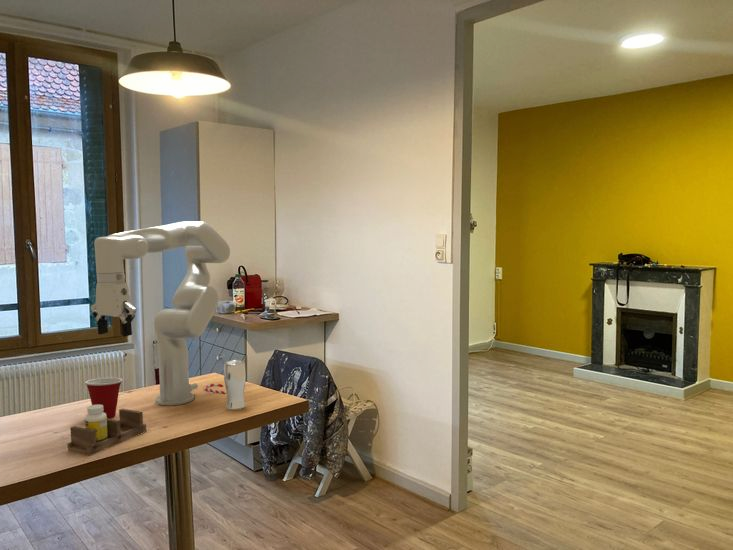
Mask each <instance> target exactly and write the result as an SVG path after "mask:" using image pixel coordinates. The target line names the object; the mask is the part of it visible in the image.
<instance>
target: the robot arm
mask: <svg viewBox="0 0 733 550" xmlns="http://www.w3.org/2000/svg"><path fill="white" fill-rule="evenodd" d="M93 244H94V256H95V257H94V258H95V267H96V268H95V270H96V280H97V283H96V287H95V288H96V289H95V303H93V304H91V306H90V310H91V312H92V315H93V317H94V318H95V322H96V324H97V334H98V335H103V334H108V333H109V328H108V327H109V326H108V319H107V317H114V318H117V317H118V318H120V321H122V322H121V334H122V335H121V336H122V337H123V338H124V337H125V338H126V337H129V336H132V335H133V329H132V327H133V326H132V323H133V322H134V319H135V317H136V314H137V308H136V307H135V306H134V305H132V299H131V295H130V294H131V293H130V289H129V285H128V281H127V282H126V281H125V280H126V275H125V267H124V260H138V259H142V258H143V257H145V256H146V254H148V253H154V254H155V253H163V252H169V251H171V250H175V249H178V248H183V247H185V248H184V249H185V251H184V253H185V258H186V263H187V271H186V275H185V276H184V278H183V280H182V281H181V283H180V284H179V286H178V288H177V289H176V291H175V292H174V295H173V298H172V305H173V307H174V308H163V309H162V310H160V311H158V312H157V313H156V315H155V317H154V319H153V327H154V332H155V336H156V342H157V351H158V375H159V394H160V395H158V396H157V397H155V399H154V400H155V403H156V404H157V405H161V406H178V405H182V404H183V405H184V404H188V403H190V402H192V401H193V400H194V399H195V394H194V393H192V391H193V390H195V389H197V388H198V386H199V384H198V383H197V382H195V383H192V384H190V381H189V380H190V379H189V377H190V376H189V375H190V374H189V373H190V372H189V352H188V351H189V350H188V345H187V342H186V340H185V339H197V338H199V337H201V336H202V334H204V333H205V330H206V328H207V326H208V325H209V323H210V321H211V320H212V317H213V316H214V314H215V312H216V311H217V308H218V305H219V294H218V291H217V290H216V289H215V287H213V286H211V285H210V281H211V275H210V272H209V270H208V267H207V264H223V263H225V262H227V261H228V260H229V258H230V256H231V255H230V254H231V249H230V245H229V244H228V242H227V241H226V240H225V238H224V237H223V236H222V234H221V235H220V233H219V232H218V231H217V230H216V229H214V227H212V225H210V224H209V223H206V221H202V220H201V221H200V220H198V221H197V220H196V221H195V220H194V221H193V220H191V221H190V220H188V221H187V220H186V221H176V222H172V223H168V224H163V225H158V226H151V227H146V228H139V229H135V230H128V231H122V232H118V233H117V232H116V233H112V234H109V235H106V236H100V237H96V238H95V240H94V243H93Z"/></svg>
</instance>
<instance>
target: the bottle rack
mask: <svg viewBox="0 0 733 550" xmlns="http://www.w3.org/2000/svg"><path fill="white" fill-rule="evenodd" d="M143 413H144V412H143V411H140V410H135V409H134V410H132V409H127V408H120V409H118V414H119V415H118V416H119V418H118V419H113V418H110V419H108V418H107V433H108V439H106V440H103V441H101V442H99V443H96V430H92V429H87V428H85V427H81V426H75V425H73V426H70V429H69V430H70V442H67V443H66V444H67V446H66V447H67V453H73V454H77V453H78V455H82V456H87V455H88V456H87V457H90V456H93V455H94V454H97V453H100V452H102V451H104V450H107V449H108V448H111V447H113V446H117V445H118V444H121V443H123V442H126V441H128V440H129V438H130V439H132V438H135V437H136V435H137V436H139V435H142V434H144V433H146V432H147V423H144V418H143V417H144V416H143V415H144V414H143ZM143 432H144V433H143ZM141 433H142V434H141ZM138 434H139V435H138ZM134 436H135V437H134ZM131 437H132V438H131ZM127 439H128V440H127ZM122 441H123V442H122ZM106 448H107V449H106Z"/></svg>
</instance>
